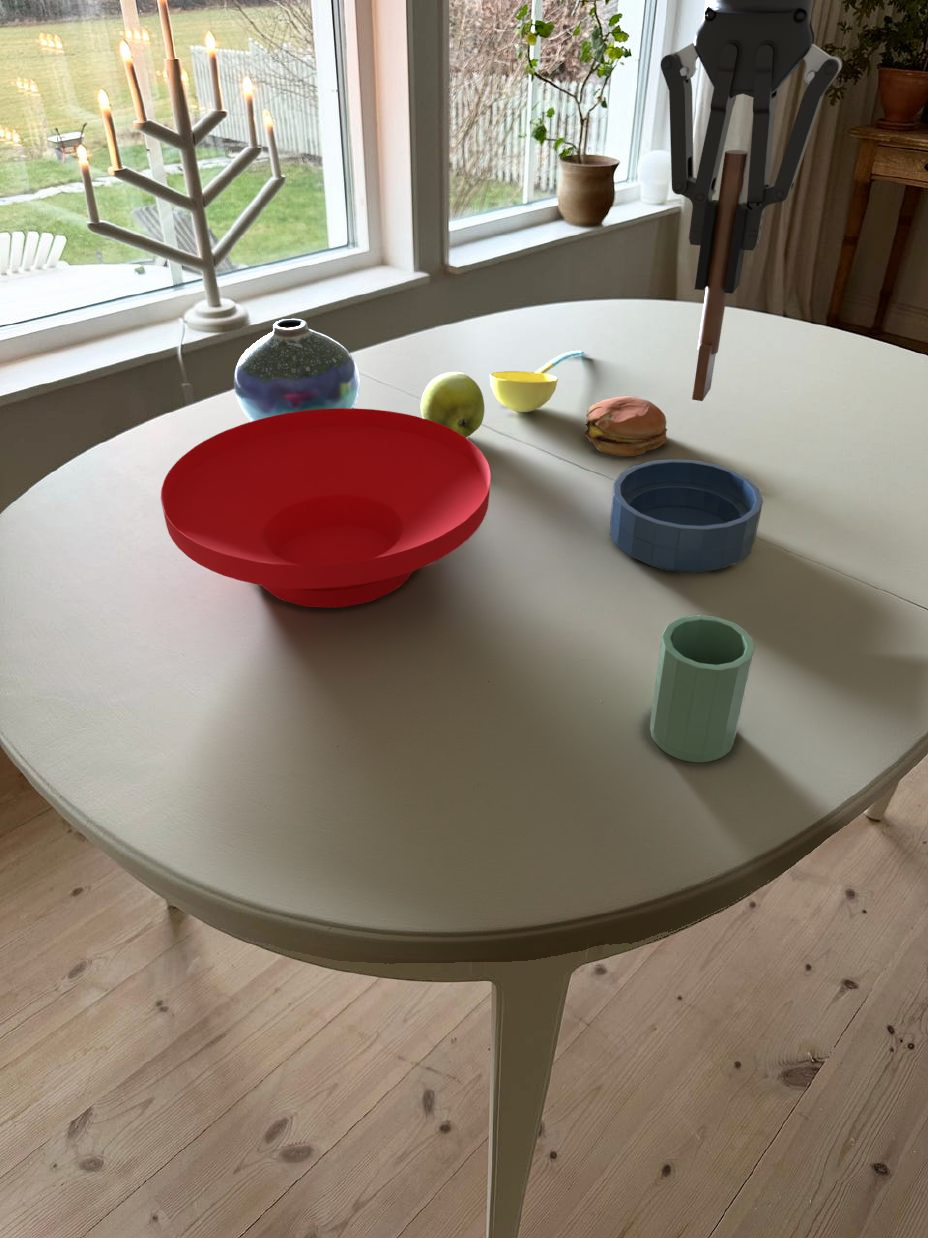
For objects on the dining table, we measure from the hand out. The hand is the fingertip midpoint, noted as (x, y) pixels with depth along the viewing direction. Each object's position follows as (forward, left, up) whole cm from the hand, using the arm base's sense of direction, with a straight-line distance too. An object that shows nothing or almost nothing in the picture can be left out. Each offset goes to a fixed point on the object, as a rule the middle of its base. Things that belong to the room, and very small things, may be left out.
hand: (717, 286), depth 78 cm
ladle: (+27, -34, -26) cm, 51 cm away
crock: (-8, +27, -26) cm, 38 cm away
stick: (0, 0, -10) cm, 10 cm away
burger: (+12, -21, -26) cm, 36 cm away
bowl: (+30, +17, -26) cm, 43 cm away
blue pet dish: (0, -1, -26) cm, 26 cm away
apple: (+32, -14, -26) cm, 44 cm away
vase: (+51, -9, -26) cm, 58 cm away
